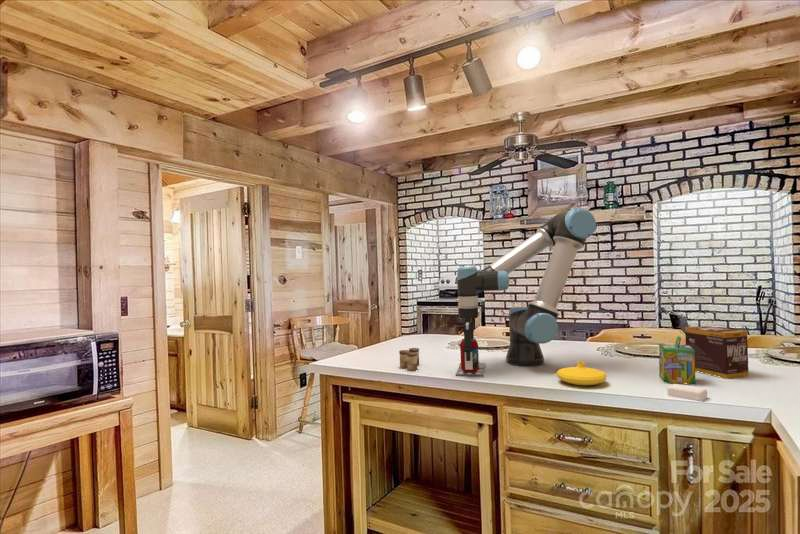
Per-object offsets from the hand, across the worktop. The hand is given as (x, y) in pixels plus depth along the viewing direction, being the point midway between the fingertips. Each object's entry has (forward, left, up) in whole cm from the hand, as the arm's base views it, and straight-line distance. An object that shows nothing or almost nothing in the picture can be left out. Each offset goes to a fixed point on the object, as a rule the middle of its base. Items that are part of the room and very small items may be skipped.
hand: (469, 366), depth 167 cm
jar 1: (+27, -7, -3) cm, 28 cm away
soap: (-65, +23, -3) cm, 69 cm away
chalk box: (-69, +4, -3) cm, 69 cm away
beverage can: (0, 0, -2) cm, 2 cm away
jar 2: (+24, -12, -3) cm, 27 cm away
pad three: (0, 0, -3) cm, 3 cm away
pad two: (0, -11, -3) cm, 11 cm away
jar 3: (+23, -3, -3) cm, 23 cm away
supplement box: (-86, -9, -3) cm, 87 cm away
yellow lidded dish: (-38, +10, -3) cm, 39 cm away
